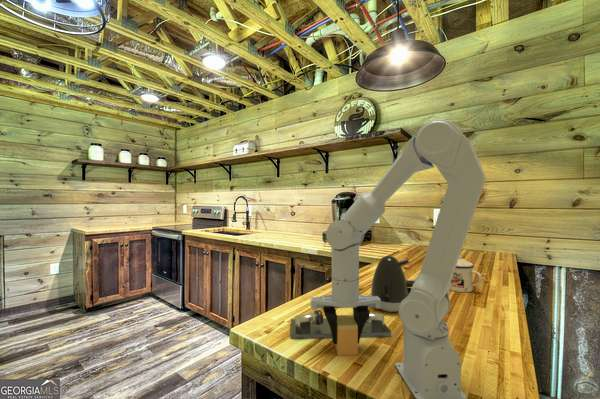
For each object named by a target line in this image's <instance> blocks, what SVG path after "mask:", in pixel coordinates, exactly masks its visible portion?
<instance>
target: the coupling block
mask: <svg viewBox="0 0 600 399" xmlns="http://www.w3.org/2000/svg"><path fill="white" fill-rule="evenodd" d="M336 331H337V344H334V347H335V349H336V350H335V351H336V352H337V353H336V354H337V356H358V354H359V350H358V349H359V347H358V346H359V344H358V325H357V323H356V321H355V319H354V316H353V314H341V315H338V314H337V328H336Z"/></svg>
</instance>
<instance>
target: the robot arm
mask: <svg viewBox="0 0 600 399" xmlns="http://www.w3.org/2000/svg"><path fill="white" fill-rule="evenodd" d="M435 167H436V168H437V170H438V172H439V173H440V175H441V176H442V177H443V178H444V180H445V181H446V183H447V188H446V190H445V193H444V197H443V200H442V203H441V206H440V209H439V213H438V215H437V218H436V222H435V224H434V227H433V230H432V233H431V237H430V240H429V244H428V247H427V249H426V251H425V252H426V253H425V256H424V259H423V262H422V265H421V267H420V268H421V269H420V271H419V273H418V275H417V277H416V278H415V279H414V280H415V282H414V284H413V286H412V287H410V288H411V291H410V293H408V296H407V297H406V298H405V299H404V300H402V302H401V303H400V305H399V311H398V316H399V320H400V321H401V323H402V325H403V327H402V328H403V329H402V330H403V344H402V345H403V350H402V352H403V362H395V364H394V365H395V368H396V370H397V371H398V373H399V374H400V376H401V377H402V379H403V381H404V382H405V384H406V385H407V387H408V389H409V391H410V392H411V393H412V395H413V396H414V398H415V399H467V395H466V394H465V392H463V391H462V362H461V357H460V354H458V352H457V350H456V349H455V348H454V347H453V345H452V342H451V340H450V333H449V330H450V329H449V326H448V324H447V322H446V320H445V317H446V315H447V314H448V313H449V312H450V309H451V300H450V291H451V290H450V288H451V279H452V276H453V273H454V270H455V267H456V264H457V262H458V259H459V256H461V253H462V251H463V250H462V249H463V247H464V245H465V244H464V243H465V241H466V238H467V235H468V232H469V230H470V227H471V224H472V221H473V219H474V215H475V213H476V209H477V206H478V203H479V201H480V197H481V195H482V192H483V191H484V190H483V189H484V186H485V183H486V175H485V172H484V170H483V167H482V165H481V162H480V160H479V157H478V155H477V152H476V148H475V145H474V144H473V143H472V142H471V141H470V140H469V139H468V137H467V136H466V135H465V134H464V133H463V131H462V132H461V130H460V129H459V128H458V127H457V125H455V124H454V123H453V122H452V121H450V120H447V119H444V118H443V119H442V118H438V119H432V120H430V121H427V122H426V123H424V124H423V125H422V126H421V127H420V128H419V130H418V131H417V133H416V136H415V135H414V136H411V138H410V139H409V140H408V141H407V143H406V145H405V146H404V147H403V150H402V151H401V152H400V154H399V155H398V156H397V158H396V159H395V161H394V162H393V163H392V164H391V165H390V167H389V168H388V169H387V171H386V172H385V173H384V174H383V176H382V177H381V179H380V180H379V181H378V182H377V184H376V185H375V186H374V188H373V189H372V190H371V191H370V192H362V193H361V194H360V195H359V194H358V195H355V197H354V198H353V201H354V202H353V203H352V205H351V206H350V207H349V208H348V209H347V210H346V211H345V212H343V213H341V214H340V215H339V217H340V220H334V221H332V222H330V223H329V225H328V227H327V229H326V231H325V232H326V233H325V237H326V241H327V243H328V245H329V246H330V247H331V294H329V295H328V294H327V295H322V296H321V295H320V296H313V297H312V296H311V297H310V309H311V310H313V311H316V310H318V309H323V312H324V313H323V314H324V317H325V318H327V321H328V323H329V325H330V329H331V334H332V338H331V340H332V345H335V344H337V331H336V328H337V315H338V314H337V310H336V309H350V308H351V309H352V313H353V314H352V316H353V318H354V319H355V321H356V323H357V325H358V345H359V344H360V340H361V337H360V336H361V332H362V330H363V327H364V325H365V323H366V321H367V319H368V318H369V315H370V313H371V312H370V310H369V308H375V309H380V308H381V299H380V298H379V297H378V296H371V295H365V294H363V295H361V294H360V260H359V259H360V255H359V254H360V245H361V244H362V243H363V241H364V238H365V234H366V233H367V232H368V231H369V230H370V229H371V228H372V227H373V225H375V223H376V222H377V221H378V220H379V219H380V218H381V217H382V216H383V215H384V214H385V212H386V202H387V201H388V200H389V199H390V198H391V197H392V196H393V195H394V194H395V193H396V192H397V191H398V190H399V189H400V188H401V187H403V185H404V184H405V183H406V182H407V181H408V180H409V179H411V177H412V176H413V175H414V174H416V173H418V172H421V171H422V172H423V171H426V170H430V169H434V168H435Z"/></svg>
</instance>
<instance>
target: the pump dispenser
mask: <svg viewBox="0 0 600 399" xmlns="http://www.w3.org/2000/svg"><path fill="white" fill-rule="evenodd" d="M409 263H410V262H409V259H408V258H406V259H403V260H402V259H401V260H398V258H396V257H394V256H392V255H385V256H382V258H380V260H379V262H378V263H377V265H376V268H375V271H374V273H373V277H372V280H371V281H372V282H371V287H370V288H371V289H370V290H371V291H370V296H378V297H379V298H380V299H381V308H379V309H380V310H382V311H383V312H388V313H396V312H399V305H400V303H401V302H402V300H404V299H405V298H406V297H407V296H408V295H409V293H408V288H409V287H408V288H407V282H406V280H407V278H406V275H405V272H404V269H403V267H402V266H404V265H406V264H409Z"/></svg>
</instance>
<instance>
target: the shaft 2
mask: <svg viewBox="0 0 600 399" xmlns="http://www.w3.org/2000/svg"><path fill="white" fill-rule="evenodd" d="M366 323H370V324H372V332H376V333H383V325H384V323H385V314H384V313H378V312H370V315H369V318H368V319H367V321H366Z"/></svg>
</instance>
